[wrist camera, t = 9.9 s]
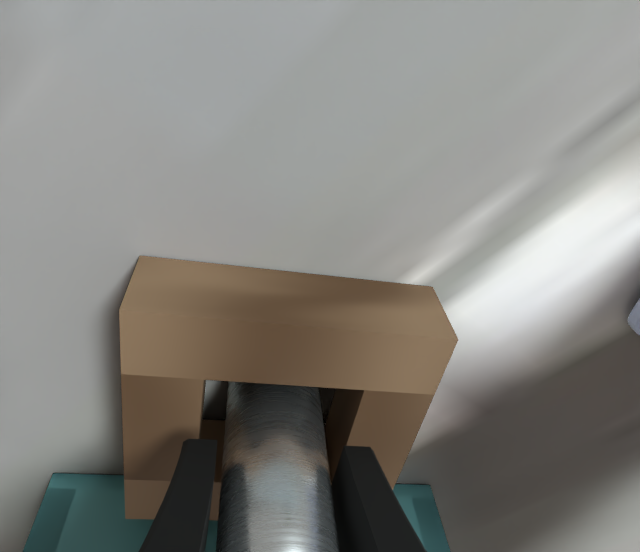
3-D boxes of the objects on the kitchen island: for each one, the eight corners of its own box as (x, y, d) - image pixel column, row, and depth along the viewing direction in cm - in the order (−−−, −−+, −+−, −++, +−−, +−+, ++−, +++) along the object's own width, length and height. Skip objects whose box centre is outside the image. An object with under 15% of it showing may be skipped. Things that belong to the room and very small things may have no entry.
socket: (432, 286, 13) (458, 339, 11) (366, 463, 16) (378, 523, 15) (139, 255, 11) (119, 309, 10) (140, 455, 15) (125, 518, 13)
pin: (338, 340, 13) (411, 736, 7) (316, 417, 15) (360, 800, 8) (222, 331, 13) (180, 752, 6) (213, 412, 14) (172, 816, 8)
